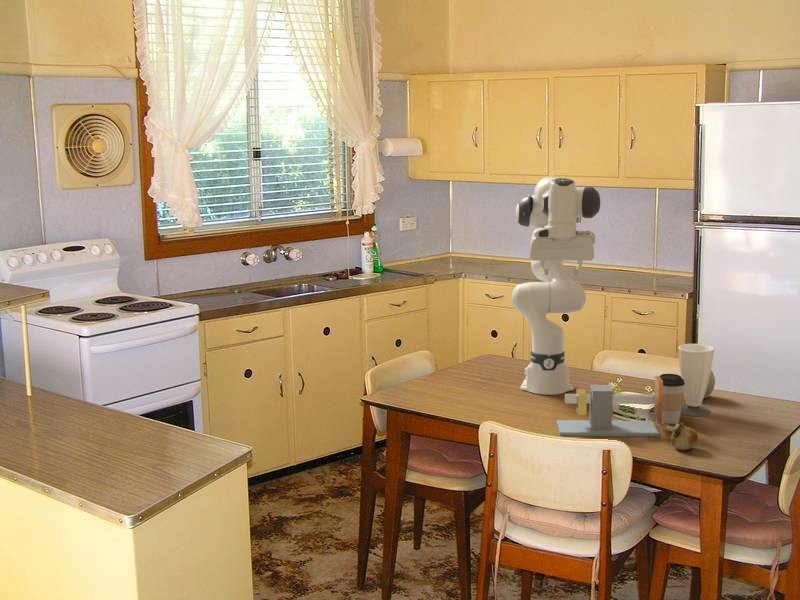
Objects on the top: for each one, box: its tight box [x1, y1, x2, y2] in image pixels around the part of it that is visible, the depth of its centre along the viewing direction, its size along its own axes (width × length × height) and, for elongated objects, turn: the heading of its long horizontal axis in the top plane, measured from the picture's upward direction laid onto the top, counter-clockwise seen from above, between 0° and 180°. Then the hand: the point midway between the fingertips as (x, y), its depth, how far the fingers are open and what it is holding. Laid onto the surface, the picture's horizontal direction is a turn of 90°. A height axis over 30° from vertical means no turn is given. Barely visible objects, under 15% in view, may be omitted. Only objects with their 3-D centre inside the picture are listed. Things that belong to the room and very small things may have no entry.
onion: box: [666, 421, 699, 451], centre depth 287 cm, size 8×8×8 cm
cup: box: [677, 343, 715, 417], centre depth 321 cm, size 12×12×22 cm
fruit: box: [703, 370, 716, 399], centre depth 336 cm, size 10×12×15 cm
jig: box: [555, 384, 660, 437], centre depth 304 cm, size 12×30×14 cm, turn 86°
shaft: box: [564, 375, 663, 425], centre depth 304 cm, size 6×29×14 cm, turn 86°
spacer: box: [575, 388, 588, 416], centre depth 304 cm, size 6×2×6 cm, turn 176°
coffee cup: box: [659, 373, 685, 425], centre depth 312 cm, size 9×9×15 cm
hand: (561, 274), depth 310 cm, fingers open, 8 cm apart
